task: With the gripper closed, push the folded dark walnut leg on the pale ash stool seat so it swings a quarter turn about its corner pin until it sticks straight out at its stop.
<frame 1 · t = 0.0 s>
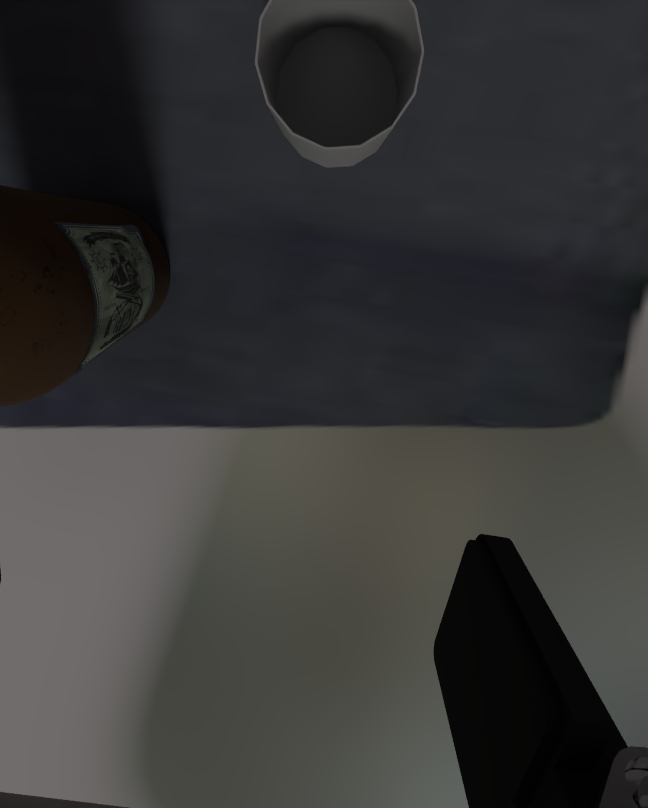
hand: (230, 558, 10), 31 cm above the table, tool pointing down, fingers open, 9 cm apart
cup: (336, 101, 35), on the table
olive oil: (111, 269, 39), on the table
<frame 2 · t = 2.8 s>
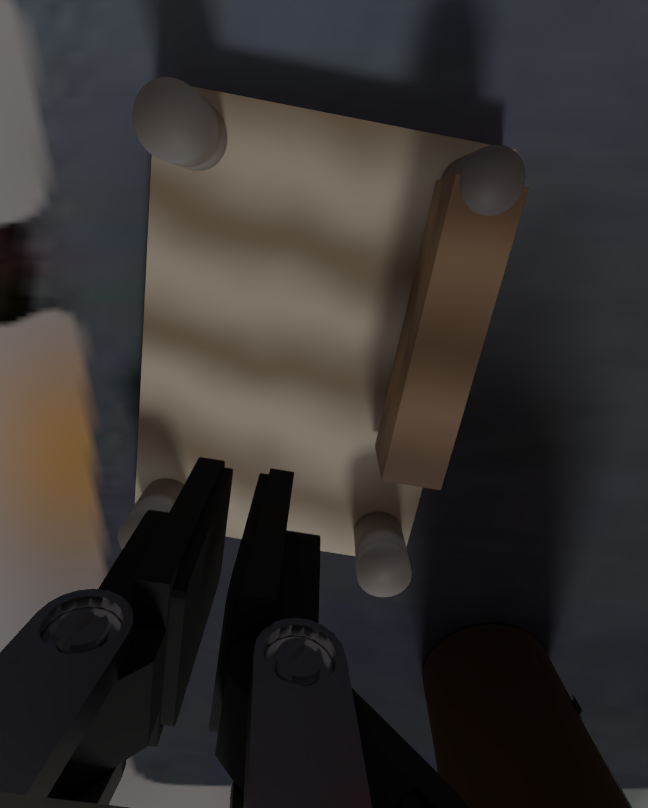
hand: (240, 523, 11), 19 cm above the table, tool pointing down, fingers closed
stool seat: (301, 352, 29), on the table
olive oil: (484, 669, 38), on the table
folding leg: (441, 326, 24), point 5 cm above the table, hinge at 0.0°
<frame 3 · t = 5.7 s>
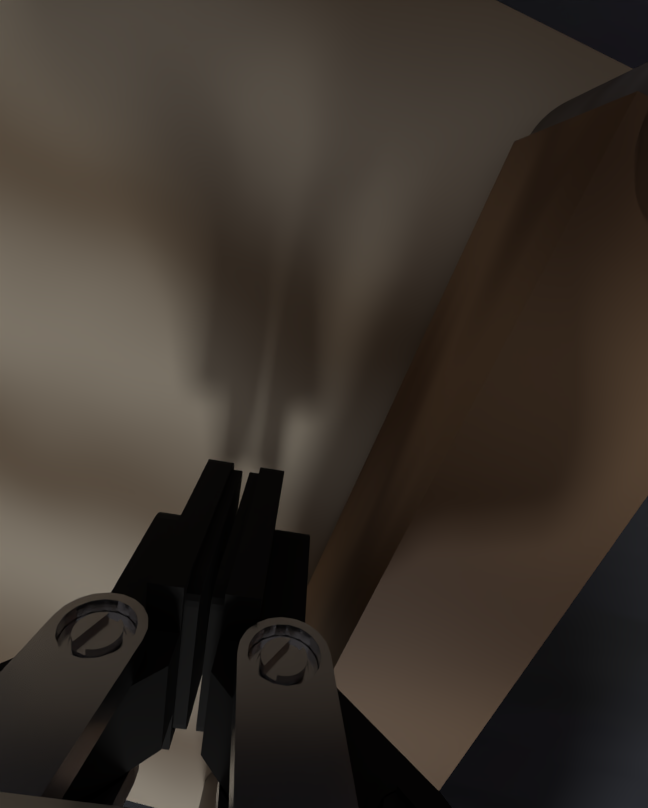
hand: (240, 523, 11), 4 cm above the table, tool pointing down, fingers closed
stool seat: (157, 444, 14), on the table
folding leg: (458, 502, 10), point 5 cm above the table, hinge at 0.6°, touching gripper
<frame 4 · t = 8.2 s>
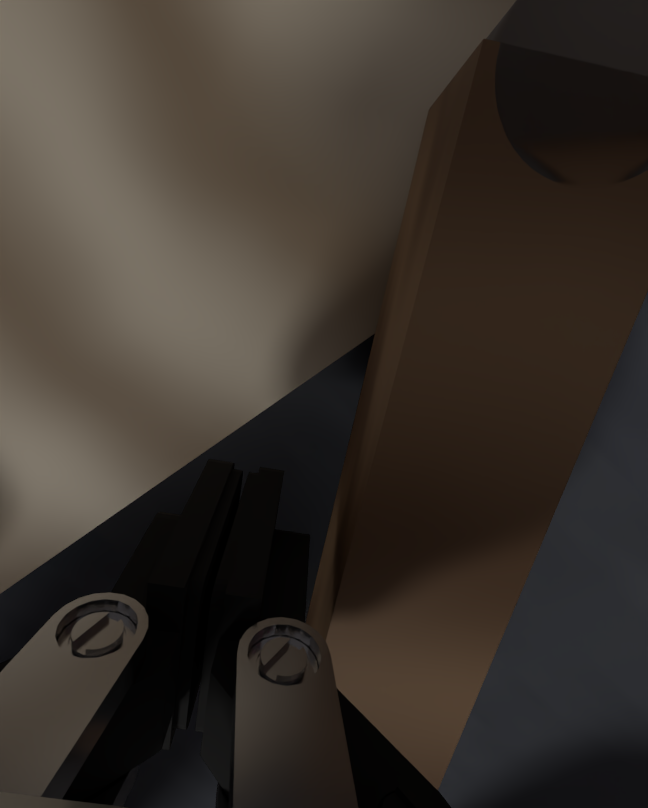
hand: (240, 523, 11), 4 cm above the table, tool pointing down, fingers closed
folding leg: (432, 464, 10), point 5 cm above the table, hinge at 42.5°, touching gripper
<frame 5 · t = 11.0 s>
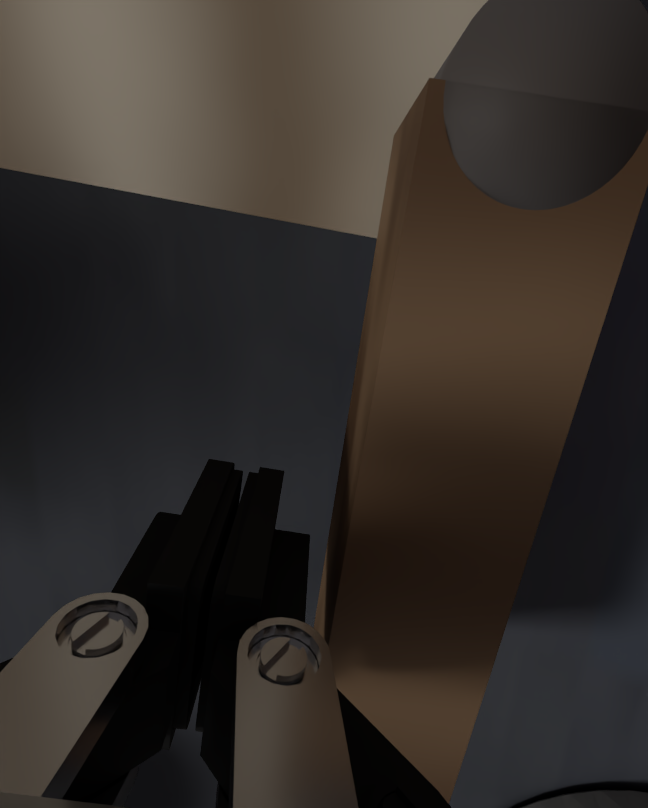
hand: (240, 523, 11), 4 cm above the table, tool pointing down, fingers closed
folding leg: (421, 479, 10), point 5 cm above the table, hinge at 92.3°, touching gripper
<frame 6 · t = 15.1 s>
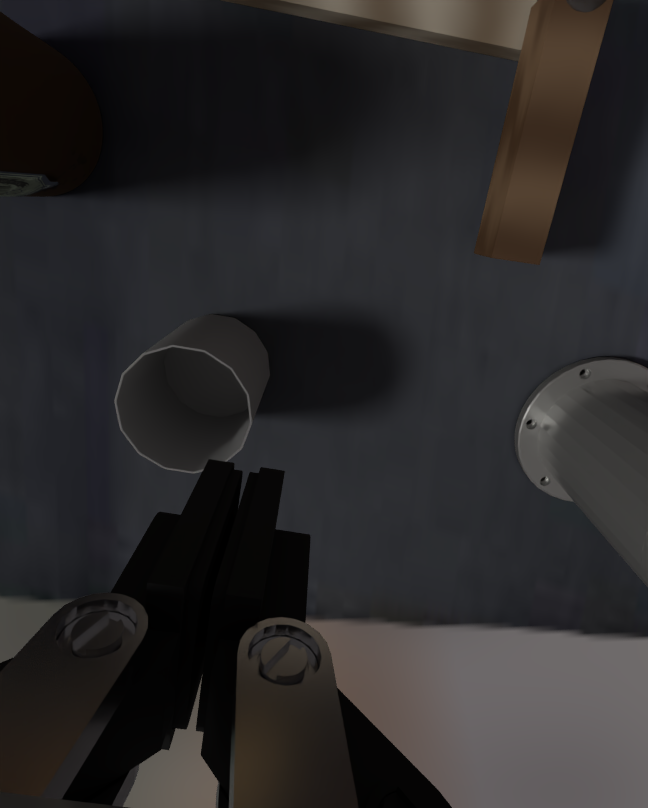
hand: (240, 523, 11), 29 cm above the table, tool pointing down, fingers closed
cup: (218, 365, 40), on the table
olive oil: (36, 123, 34), on the table
folding leg: (538, 126, 30), point 5 cm above the table, hinge at 92.0°
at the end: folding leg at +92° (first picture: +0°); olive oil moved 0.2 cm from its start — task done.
